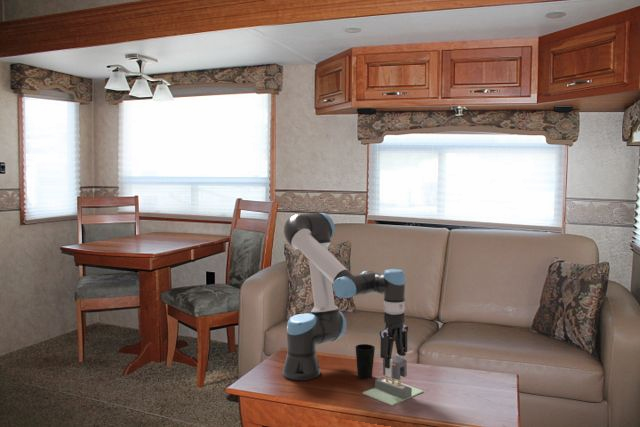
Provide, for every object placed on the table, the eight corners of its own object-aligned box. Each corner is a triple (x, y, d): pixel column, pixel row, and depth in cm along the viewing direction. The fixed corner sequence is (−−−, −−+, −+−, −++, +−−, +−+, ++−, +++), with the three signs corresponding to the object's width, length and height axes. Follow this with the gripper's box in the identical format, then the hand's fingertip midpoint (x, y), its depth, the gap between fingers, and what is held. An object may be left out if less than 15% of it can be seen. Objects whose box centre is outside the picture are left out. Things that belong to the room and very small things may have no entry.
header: (362, 393, 199) (362, 376, 199) (394, 381, 211) (394, 365, 211) (391, 405, 189) (391, 387, 188) (423, 392, 201) (423, 375, 200)
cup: (373, 380, 212) (373, 350, 211) (353, 379, 213) (354, 349, 212) (375, 373, 219) (375, 344, 218) (356, 372, 221) (356, 343, 220)
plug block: (383, 374, 200) (382, 358, 200) (392, 371, 203) (391, 355, 203) (397, 379, 195) (397, 363, 194) (406, 376, 198) (406, 360, 198)
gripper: (385, 318, 189) (385, 383, 190) (417, 309, 201) (417, 371, 203) (369, 314, 195) (369, 377, 196) (402, 306, 207) (401, 366, 208)
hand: (393, 374), depth 199 cm, fingers closed on plug block, 5 cm apart
